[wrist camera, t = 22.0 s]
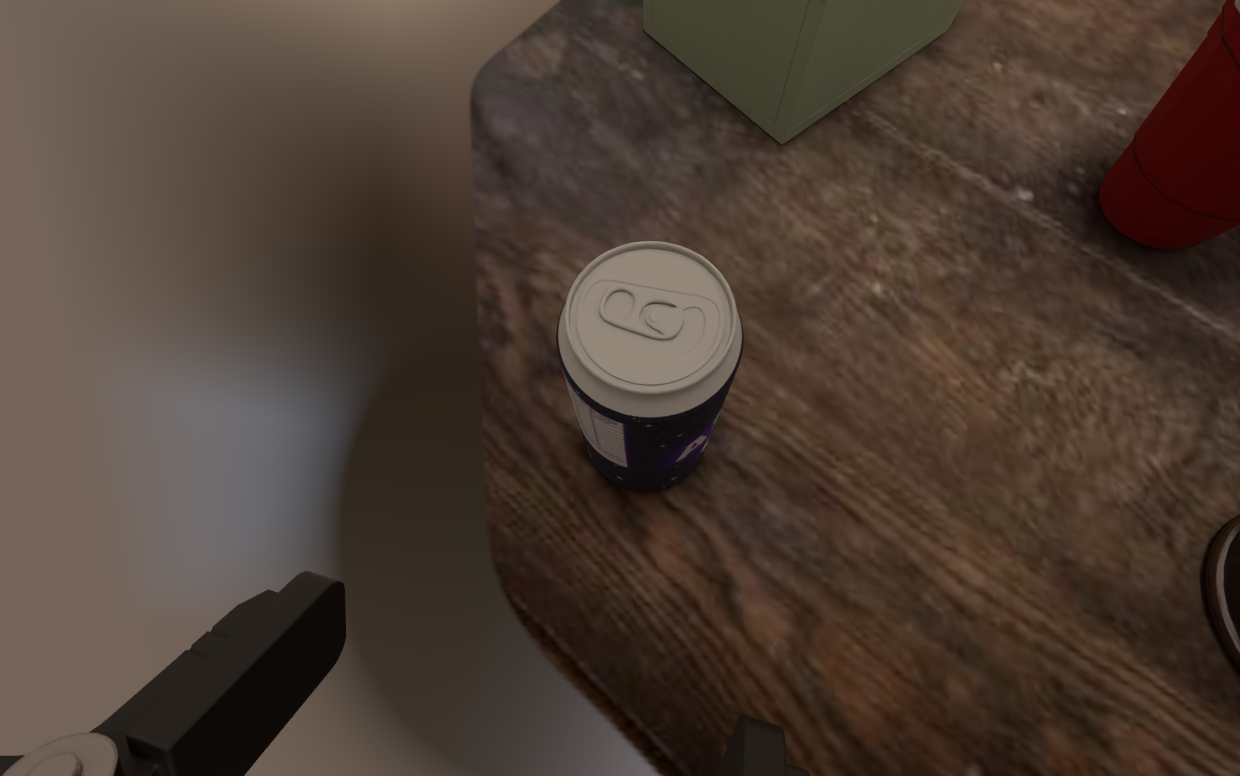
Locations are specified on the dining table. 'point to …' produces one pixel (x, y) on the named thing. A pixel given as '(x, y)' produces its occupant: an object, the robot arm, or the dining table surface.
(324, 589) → the robot arm
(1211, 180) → the plastic cup
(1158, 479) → the dining table surface
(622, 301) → the beverage can
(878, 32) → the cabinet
